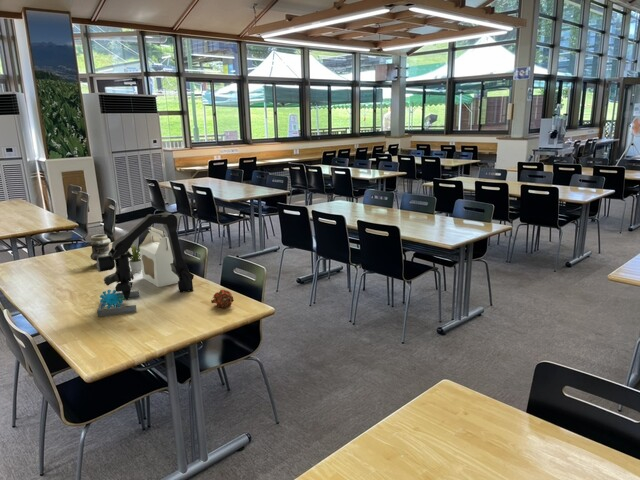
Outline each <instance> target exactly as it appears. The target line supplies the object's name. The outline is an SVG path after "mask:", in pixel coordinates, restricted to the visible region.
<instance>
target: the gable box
mask: <svg viewBox="0 0 640 480" xmlns="http://www.w3.org/2000/svg"><path fill="white" fill-rule="evenodd" d="M147 230H148V231H149V232H147V234H146V236H145V238H144V239H143V241H142V242H141V244H140V245H141V246H140V245H139V246H140V247H139V246H138V247H139V248H140V249H139V250H140V251H139V255H140V256H139V257H141V258H140V259H141V265H142V271H141V273H142V278H143V279H144V280H146V281H147V282H149V283H151V284H153V285H154V286H156V287H158V288H162V287H166V286H169V285H173V284H174V283H175V284H178V281H179V277H178V276H177V275H176V274H174V272H173V271H171V270H172V268H171V265H170V263H173V255H172V251H171V247H170V243H169V238H168V236H165V231H164V230H162V229H160V228H159V229H158V228H156V227H154V226H150V228H148V229H147Z"/></svg>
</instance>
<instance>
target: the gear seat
mask: <svg viewBox="0 0 640 480" xmlns="http://www.w3.org/2000/svg"><path fill="white" fill-rule="evenodd" d="M112 293H113V292H112ZM117 293H118V292H116V293H113V294H117ZM106 294H107V295H108V293H106ZM120 294H121V295H120V296H118V295H117V296H118V297H121V296H122V297H123V292H122V291H120ZM102 295H103V296H104V297H105V295H104V294H102ZM134 298H140V290H131V292H130V295H129V299H134ZM101 299H103V298H101ZM124 299H125V298H124ZM124 299H123V300H124ZM103 300H104V299H103ZM125 300H126V299H125ZM103 303H106V302H100V301H99V305H98V308H97V309H96V313H97V314H96V315H97V317H98V318H101V317H109V316H116V315H125V314H133V313H137V312H138V310H137V304H133V305H132V304H131V305H127V306H126V305H124V306H120V307H117V306H116V307H114V308H113V307H110V308H107V307H106V305H105V306H103V305H102V304H103Z"/></svg>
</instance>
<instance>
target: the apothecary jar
mask: <svg viewBox="0 0 640 480" xmlns="http://www.w3.org/2000/svg"><path fill="white" fill-rule="evenodd" d="M110 244H111V239H110V238H108V235H107V234H106V233H105V234H104V233H101V234H94V235H91V237H90V240H89V241H88V245H90V246H91V254H90V255H89V256H90V259H91V260H92V261H95V262H96V263H97V257H99V256H107V255H108V253H109V252H110V250H111V249H110ZM96 263H94V264H93V267H96V268H97V264H96Z"/></svg>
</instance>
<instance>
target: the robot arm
mask: <svg viewBox="0 0 640 480" xmlns="http://www.w3.org/2000/svg"><path fill="white" fill-rule="evenodd" d="M154 224H158V225H163V228H164V230H165V231H166V234H167V237H168V238H169V243H170V247H171V251H172V255H173V263H170V265H171V268H172V270H171V271H173V272H174V274H176V275H177V276H178V277H179V281H178V283H177V285H178V286H177V287H178V291H179V293H187V292H194V286H193V280H194V278H195V277H194V276H195V275H194V274H193V273H191V272H190V270H189V267H188V265H187V263H186V262H185V260H184V257H183V253H182V248H181V245H180V240H179V236H178V235H179V234H178V232H177V231H178V226H179V225H178V224H179V223H178V217H177V216H176V215H175V214H173V213H169V212H165V213H163V214H162V213H161V214H159V213H158V214H151V213H149V214H147V215H145V217H144V218H143V219H142V220H141V221H140V222H138V223H137V224H136V225H135V226H134V227H133V228H132V229H130V231H129V232H128V233H126V234H124V235H123V236H120V237H118V238H116V239H115V240H113V242H112V243H111V249H109V250H110V252H109V253H108V255H107V256H99V257H97V261H96V264H97V267H96V269H97V271H98V272H99V273H102V272H107V271H113V270H114V268H115V269H116V270H115V272H114V273H111V274H109V275H107V276H105V277H104V278H103V281H104V284H105V285H106V286H107V287H108V286H110V285H112V284H114V283H116V285H115V289H114V290H115V291H116V293H119V292H123V295H124V297H125V300H126V301H128V300H129V299H130V298H129V295H130V292H131V291H132V286H133V283H134V282H132V280H134V279H135V277H134V274H133V272H131V266H130V263H129V261H130V258H128V257H133V255H132V253H131V252H130V249H131V246H132V245H134V244H133V243H134V242H135V241H136V240H137V239H138V238H140V237H141V235H142V234H144V233H145V231H146V230H148V229H150V228H151V227H152V225H154ZM128 251H129V252H130V253H131V254H130V253H129V252H128Z"/></svg>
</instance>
